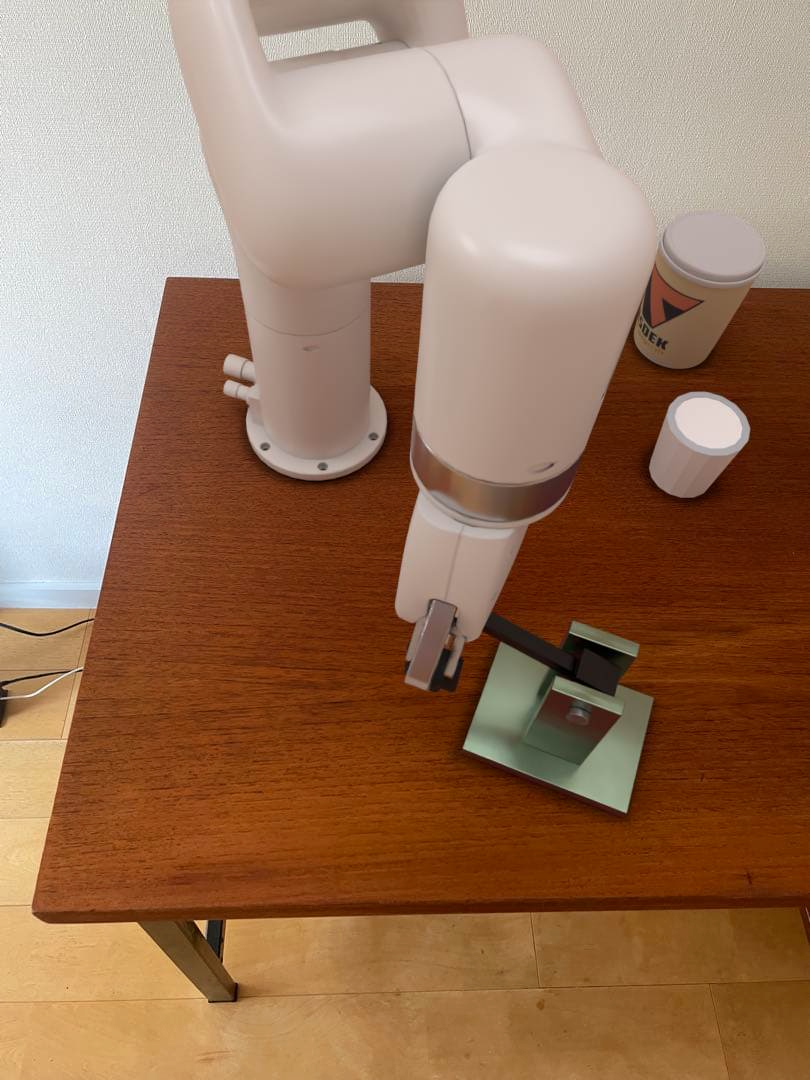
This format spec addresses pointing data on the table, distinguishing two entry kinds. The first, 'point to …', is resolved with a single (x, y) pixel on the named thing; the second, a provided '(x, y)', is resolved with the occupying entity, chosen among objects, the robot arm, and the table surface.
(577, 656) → the lever
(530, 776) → the bracket
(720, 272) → the coffee cup
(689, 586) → the table surface
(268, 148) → the robot arm
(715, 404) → the white cylinder
